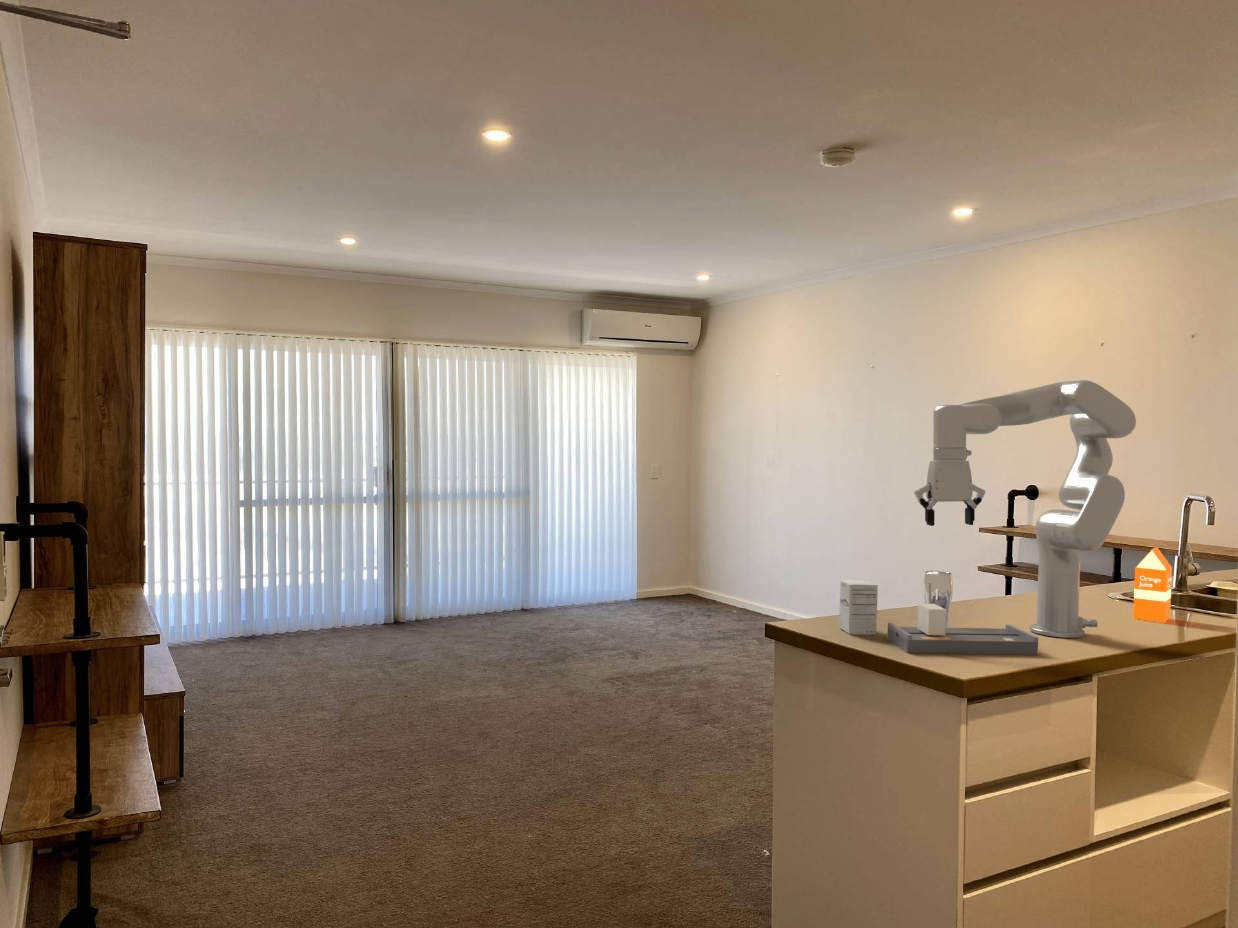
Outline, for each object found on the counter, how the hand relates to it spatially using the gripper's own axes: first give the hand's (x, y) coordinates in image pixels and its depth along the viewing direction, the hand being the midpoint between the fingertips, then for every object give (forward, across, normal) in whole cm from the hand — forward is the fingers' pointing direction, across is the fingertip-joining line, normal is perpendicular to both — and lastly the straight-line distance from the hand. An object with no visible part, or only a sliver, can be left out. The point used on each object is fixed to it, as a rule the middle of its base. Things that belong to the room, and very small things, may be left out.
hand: (949, 524), depth 215 cm
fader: (+25, +9, +9) cm, 28 cm away
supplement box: (+28, +21, -6) cm, 35 cm away
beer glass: (+28, 0, -8) cm, 29 cm away
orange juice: (+31, -69, -27) cm, 81 cm away
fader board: (+28, +2, +9) cm, 29 cm away
